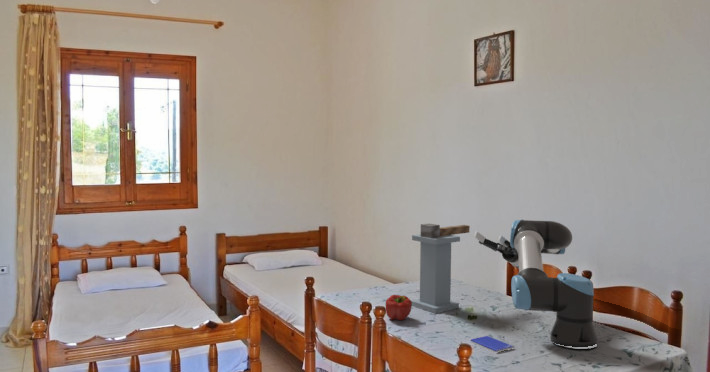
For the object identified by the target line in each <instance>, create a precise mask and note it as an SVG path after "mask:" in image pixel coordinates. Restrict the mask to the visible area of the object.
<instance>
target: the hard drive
mask: <svg viewBox="0 0 710 372" xmlns="http://www.w3.org/2000/svg"><path fill="white" fill-rule="evenodd" d="M470 343H471V344H474V345H476V346H478V347H480V346H481V348H483V349H485V348H486V349H485V350H487V349H488V351H490V350H491V351H490V352H492V351H493V352H492V353H494V352H500V351H504V350H508V349H512V348H514V349H515V346H514V345H511V344H508V343H506V342H504V341H501V340H499V339H496V338H493V337H492V336H488V335H484V336H480V337H474V338H471V339H470ZM512 350H513V349H512ZM508 351H509V350H508ZM504 352H505V351H504ZM500 353H501V352H500Z"/></svg>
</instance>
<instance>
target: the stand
mask: <svg viewBox="0 0 710 372" xmlns="http://www.w3.org/2000/svg"><path fill="white" fill-rule="evenodd" d="M411 237H412V238H411V240H412V241H416V242H420V256H419V257H420V258H419V259H420V260H419V261H420V263H419V264H420V265H419V266H420V267H419V299H414V300H411V302H412V307H415V308H418V309H421V310H424V311H427V312H430V313H433V314H438V313H442V312H447V311H450V310H454V309H459V308H460V307H459V306H460V303H459V302H457V301H453V300H451V291H452V290H451V286H452V285H451V283H452V282H451V279H452V278H451V277H452V243H457V242H461V236H459V235H446V236H440V237H437V238H427V237H421V233H420V234H413V235H412V236H411ZM458 307H459V308H458Z"/></svg>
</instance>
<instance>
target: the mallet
mask: <svg viewBox="0 0 710 372" xmlns="http://www.w3.org/2000/svg"><path fill="white" fill-rule="evenodd" d="M470 228H471V227H470V225H468V224H462V225H452V226H442V227H440V224H435V223H423V224H420V234H421V237H427V238H437V237H440V236H446V235H453V236H455V235H460V234H467V233H468V234H469V233H470Z"/></svg>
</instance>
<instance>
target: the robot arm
mask: <svg viewBox="0 0 710 372" xmlns="http://www.w3.org/2000/svg"><path fill="white" fill-rule="evenodd" d="M510 229H511V230H510V235H509V236H510V239H509V240H508V239H506V238H505V237H504V236H502V235H499V237H498V240H497V241H498V242H495V241H493V240H491V239H488V238H486V237H485V236H484V235H483V234H482V233H480V232H479V231H477V230H476V231H475V232H474V236H473V238H475V239H476V240H478V244H479V245H483V246H484V247H486V248H489V249H491V250H492V251H494V252H498V253H500V254H501V255H502V258H503V260H505V261H506V262H508V263H509V264H511V265H512V267H515V269H518V272H517V274H516V275H513V276H512V278H511V285H510V287H511V288H510V289H511V298H512V304H513V306H514V307H515V308H516V309H519V310H523V311H531V312H533V311H534V312H535V311H537V312H550V313H551V312H552V313H553V312H554V313H555V312H556V315H555V316H556V319H555V321H554V323H553V327H552V329H551V331H550V339H551V341H552V342H554V343H556V344H560V345H564V346H572V347H588V346H593V345H595V344H597V345H598V337H597V334H596V331H595V326H594V323H593V320H594V319H593V313H594V312H593V311H594V296H595V293H594V283H593V281H592V280H591V279H589V278H587V277H585V276H582V275H578V274H573V273H566V272H564V273H563V272H560V273H558V274H557V275H556V277H552V276H550V277H549V276H548V274H547V273H546V272H545V271H544V266H543V257H542V254H545V255H546V254H548V255H564V254H565V252H566V248H568V247H569V246H570V245H571V243H572V242H573V234H572V232H571V230H570V229H569V228H568V227H567V226H565V224H562V223H561V222H558V221H557V222H556V221H552V220H530V219H529V220H528V219H527V220H525V219H515V220H513V222H512V223H511V228H510ZM551 341H550V342H551ZM552 342H551V343H552Z"/></svg>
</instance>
